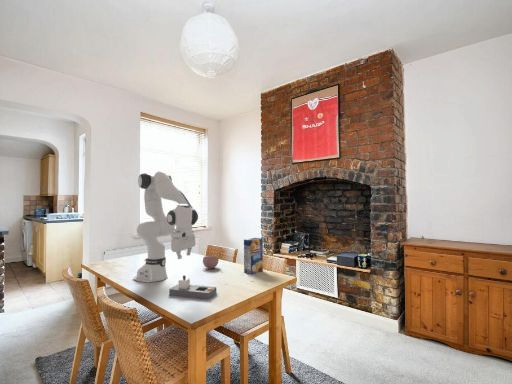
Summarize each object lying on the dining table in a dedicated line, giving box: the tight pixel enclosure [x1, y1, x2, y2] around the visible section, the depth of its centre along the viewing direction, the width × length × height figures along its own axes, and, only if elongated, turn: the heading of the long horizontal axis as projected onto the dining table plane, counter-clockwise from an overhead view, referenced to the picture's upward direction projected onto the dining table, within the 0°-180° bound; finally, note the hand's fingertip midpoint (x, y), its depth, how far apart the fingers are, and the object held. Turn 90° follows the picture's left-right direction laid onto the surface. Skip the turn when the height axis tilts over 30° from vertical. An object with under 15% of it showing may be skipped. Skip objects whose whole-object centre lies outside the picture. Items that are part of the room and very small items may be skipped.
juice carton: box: [243, 237, 264, 275], centre depth 202 cm, size 12×8×24 cm, turn 135°
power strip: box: [168, 283, 217, 300], centre depth 154 cm, size 24×10×5 cm, turn 74°
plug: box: [178, 275, 191, 289], centre depth 156 cm, size 4×4×10 cm
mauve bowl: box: [202, 252, 220, 269], centre depth 213 cm, size 12×12×12 cm
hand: (184, 257), depth 156 cm, fingers open, 8 cm apart
